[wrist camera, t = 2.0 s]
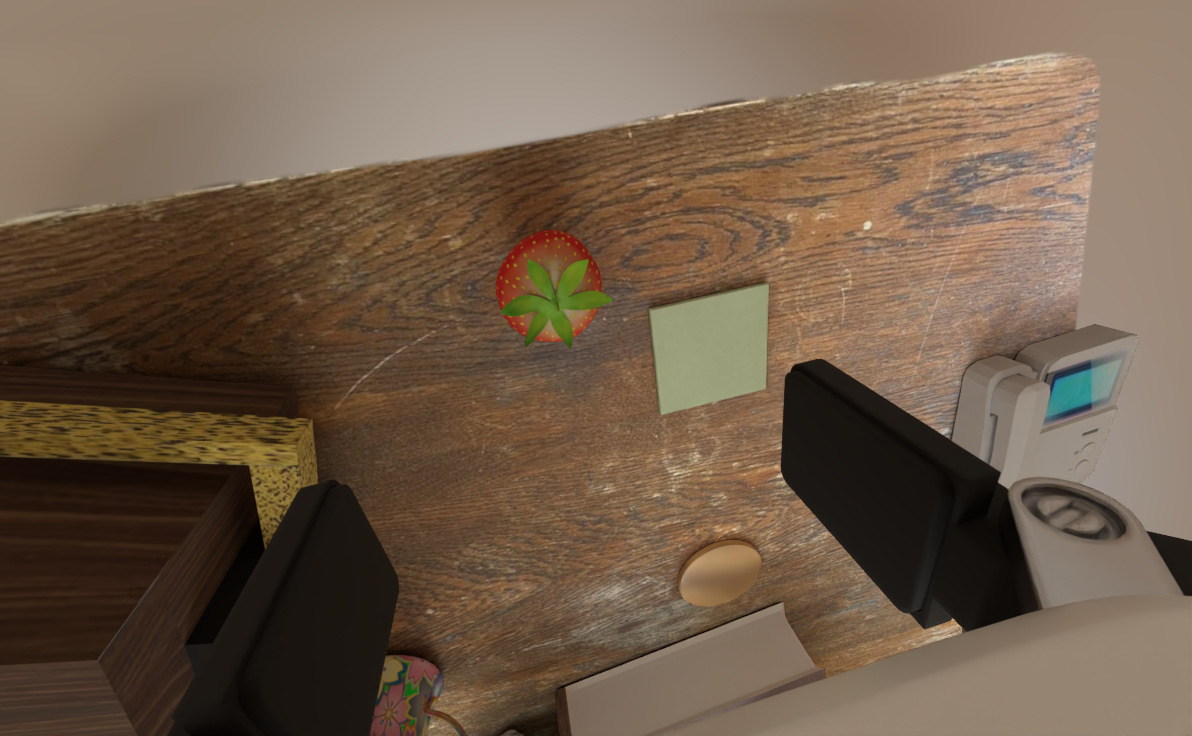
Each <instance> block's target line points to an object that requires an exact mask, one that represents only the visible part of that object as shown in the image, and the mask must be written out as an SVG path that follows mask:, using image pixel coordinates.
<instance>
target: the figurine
mask: <svg viewBox="0 0 1192 736" xmlns="http://www.w3.org/2000/svg"><path fill="white" fill-rule="evenodd" d="M500 736H524V735H522V734H520V733H518V732H517V731H515V730H508V731H506V732H505V733H504V734H502V735H500Z"/></svg>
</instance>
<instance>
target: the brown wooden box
mask: <svg viewBox="0 0 1192 736" xmlns="http://www.w3.org/2000/svg"><path fill="white" fill-rule="evenodd" d="M314 484H318V473H317V463H316V453H315V443H314V433H313V423H312V419H306V418H299V413H298V404H297V395H296V387H286V386H273V385H260V384H246V383H233V382H217V381H204V380H190V379H177V378H163V377H150V376H136V375H123V374H109V373H96V372H82V371H69V370H56V369H42V368H29V367H17V366H4V365H0V736H167V735H168V733H169V731H170V730H171V728H172V726H173V724H174V722H175V721H174V720H173V719H172V718H171V717H172V715H173V714H174V712H175V710H176V708H177V706H178V705H179V703H180V701H181V699H182V697H183V696H184V694H185V692H186V690H187V689H188V687H189V685H190V683H191V681H192V680H193V678H194V676H195V674H196V672H197V671H198V669H199V667H200V665H201V664H202V662H203V660H204V658H205V656H206V655H207V653H208V651H209V649H210V647H211V646H212V644H213V642H214V640H215V638H216V637H217V635H218V633H219V631H220V630H221V628H222V626H223V624H224V622H225V621H226V619H227V617H228V615H229V613H230V612H231V610H232V608H233V606H234V604H235V603H236V601H237V599H238V597H239V596H240V594H241V592H242V590H243V588H244V587H245V585H246V583H247V581H248V579H249V578H250V576H251V574H252V572H253V571H254V569H255V567H256V565H257V563H258V562H259V560H260V558H261V556H262V554H263V553H264V551H265V549H266V547H267V545H268V544H269V542H270V540H271V538H272V537H273V535H274V533H275V531H276V529H277V528H278V526H279V524H280V522H281V520H282V519H283V517H284V515H285V513H286V511H287V510H288V508H289V506H290V504H291V503H292V501H293V499H294V497H295V495H296V494H297V492H298V491H299V490H300V489H301V488H303V487H306V486H310V485H314Z"/></svg>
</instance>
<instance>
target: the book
mask: <svg viewBox="0 0 1192 736" xmlns="http://www.w3.org/2000/svg"><path fill="white" fill-rule="evenodd" d="M822 679H825V668H820V667H816V666H815V665H814V663H813V661H812V660H811V658H810V657H809V655H808V654H807V652H806V651H805V649H804V648H803V646H802V644H801V643H800V641H799V639H798V638H797V636H796V634H795V633H794V631H793V630H792V628H791V626H790V625H789V623H788V621H787V620H786V618H785V612H784V604H783V602H782V603H780V604H777V605H774V606H772V607H769V608H767V609H764V610H762V611H759V612H756V613H754V614H751V615H749V616H746V617H744V618H741V619H738V620H736V621H733V622H731V623H728V624H726V625H723V626H721V627H718V628H715V629H713V630H710V631H708V632H705V633H703V634H700V635H697V636H695V637H692V638H690V639H687V640H685V641H682V642H679V643H677V644H674V645H672V646H669V647H667V648H664V649H662V650H659V651H656V652H654V653H651V654H649V655H646V656H644V657H641V658H638V659H636V660H633V661H631V662H628V663H626V664H623V665H621V666H618V667H615V668H613V669H610V670H608V671H605V672H603V673H600V674H597V675H595V676H592V677H590V678H587V679H585V680H582V681H579V682H577V683H574V684H572V685H569V686H567V687H564V688H562V689H559V690H556V691H555V699H556V708H557V717H558V726H559V735H560V736H656V735H659V734H662V733H665V732H667V731H670V730H673V729H676V728H679V727H682V726H685V725H688V724H691V723H694V722H697V721H700V720H703V719H706V718H709V717H712V716H715V715H718V714H721V713H724V712H727V711H730V710H733V709H735V708H738V707H741V706H744V705H747V704H750V703H753V702H756V701H759V700H762V699H765V698H768V697H771V696H774V695H777V694H780V693H783V692H786V691H789V690H792V689H795V688H798V687H801V686H804V685H807V684H810V683H813V682H816V681H819V680H822Z"/></svg>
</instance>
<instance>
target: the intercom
mask: <svg viewBox="0 0 1192 736" xmlns="http://www.w3.org/2000/svg"><path fill="white" fill-rule="evenodd" d="M1138 343H1139V337H1137V335H1135V334H1131V333H1127V332H1123V331H1120V330H1116V329H1111V328H1108V327H1104V326H1100V325H1096V324H1094V325H1091V326H1088V327H1085V328H1081V329H1078V330H1075V331H1072V332H1069V333H1065V334H1062V335H1059V336H1056V337H1053V338H1050V339H1046V340H1043V341H1040V342H1037V343H1034V344H1030V345H1028V346H1027V347H1025V348H1024V349H1023V350H1021V351H1020V352H1019V353H1018V355H1017V357H1016V358H1015V361H1014V360H1012V359H1009V358H1006V357H1003V356H999V355H995V356H992V357H989V358H986V359H982V360H979V361H976V362H975V363H974V364H972V365H971V366H970V367H968V368H967V370H966V372H965V374H964V377H963V383H962V388H961V393H960V399H959V404H958V409H957V415H956V420H955V425H954V431H953V436H952V441H953V442H954V443H956V444H957V445H959V446H961V447H962V448H964V449H965V450H967V451H968V452H970V453H972V454H973V455H975V456H976V457H978V458H979V459H981V460H983V461H984V462H986V463H987V464H989V465H990V466H992V467H994V468H995V469H997V470H998V471H1000V472H1001V475H1000V477H999V480H998V483H1000V484H1001V485H1003V486H1004V487H1006V488H1007V489H1009V488H1010V487H1011V486H1012V484H1013V483H1014V482H1016V481H1019V480H1021V479H1024V478H1031V477H1048V478H1058V479H1063V480H1067V481H1071V482H1076V483H1080V482H1082V481H1084V480H1085V479H1087V478H1088V477H1090V475H1091V474H1092V473H1093V471H1094V469H1095V466H1096V464H1097V461H1098V459H1099V456H1100V453H1101V451H1102V448H1103V445H1104V443H1105V440H1106V438H1107V435H1108V433H1109V430H1110V427H1111V425H1112V422H1113V420H1114V417H1115V414H1116V412H1117V409H1118V408H1117V407H1116V405H1115V404H1116V401H1117V399H1118V396H1119V394H1120V391H1121V388H1122V386H1123V383H1124V380H1125V378H1126V375H1127V373H1128V370H1129V367H1130V364H1131V362H1132V359H1133V356H1134V354H1135V351H1136V349H1137V346H1138Z"/></svg>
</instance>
